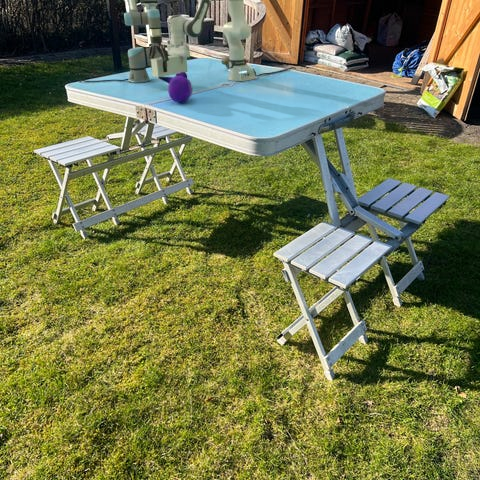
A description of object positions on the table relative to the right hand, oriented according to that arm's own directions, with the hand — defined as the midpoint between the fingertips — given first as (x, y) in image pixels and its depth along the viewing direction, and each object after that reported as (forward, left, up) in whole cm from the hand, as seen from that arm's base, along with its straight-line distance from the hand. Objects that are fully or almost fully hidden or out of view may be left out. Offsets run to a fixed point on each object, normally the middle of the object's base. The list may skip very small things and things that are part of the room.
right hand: (179, 63), depth 312 cm
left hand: (+17, +6, -3) cm, 18 cm away
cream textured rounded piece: (-62, -36, -16) cm, 73 cm away
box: (+9, +3, -6) cm, 11 cm away
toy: (+19, +38, -16) cm, 45 cm away
